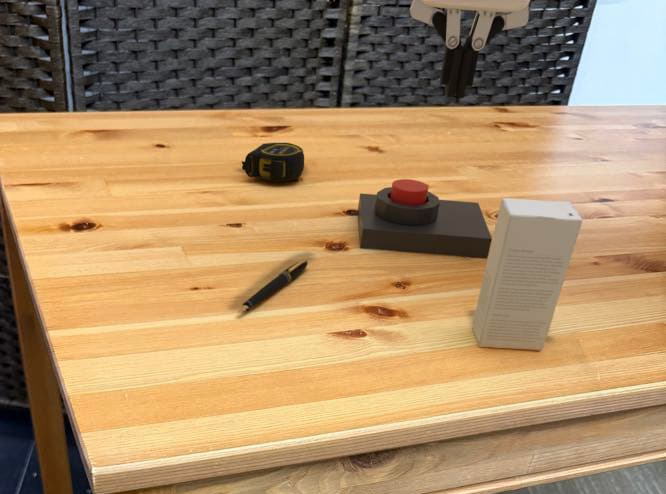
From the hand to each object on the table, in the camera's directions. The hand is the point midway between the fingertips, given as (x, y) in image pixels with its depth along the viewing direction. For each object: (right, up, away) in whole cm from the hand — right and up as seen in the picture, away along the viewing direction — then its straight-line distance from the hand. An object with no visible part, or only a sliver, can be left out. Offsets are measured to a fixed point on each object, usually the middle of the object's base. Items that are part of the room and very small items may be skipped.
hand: (453, 93), depth 79 cm
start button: (-2, -5, +12) cm, 13 cm away
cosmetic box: (+4, -25, -3) cm, 25 cm away
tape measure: (-17, +3, +26) cm, 32 cm away
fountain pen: (-17, -19, +1) cm, 26 cm away
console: (0, -8, +15) cm, 17 cm away
